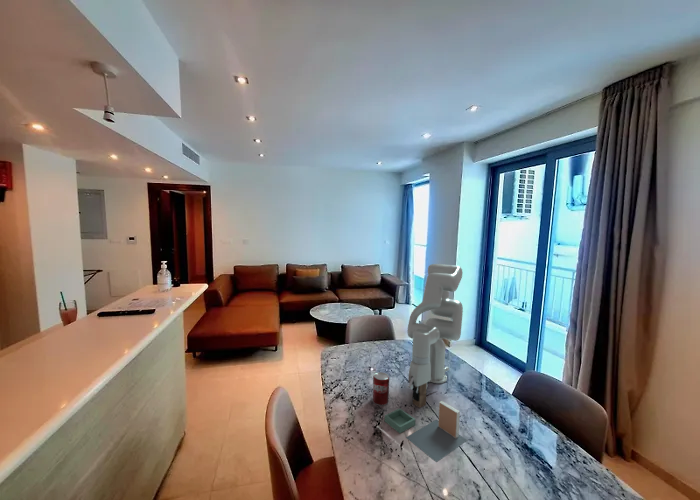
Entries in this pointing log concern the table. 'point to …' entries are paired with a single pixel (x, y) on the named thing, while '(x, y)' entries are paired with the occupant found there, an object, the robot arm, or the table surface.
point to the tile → (449, 419)
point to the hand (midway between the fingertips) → (419, 397)
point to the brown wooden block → (421, 396)
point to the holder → (400, 420)
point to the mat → (435, 441)
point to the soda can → (380, 388)
